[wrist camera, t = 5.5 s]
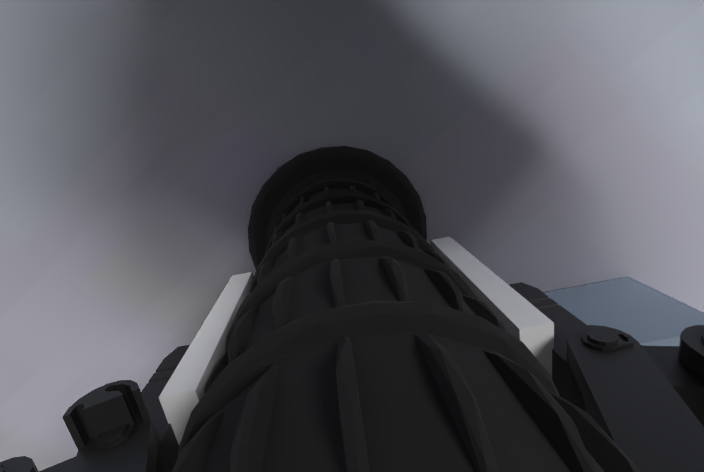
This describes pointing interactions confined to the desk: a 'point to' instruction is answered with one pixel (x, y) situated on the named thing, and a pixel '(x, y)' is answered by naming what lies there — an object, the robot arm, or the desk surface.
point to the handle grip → (373, 347)
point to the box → (630, 310)
